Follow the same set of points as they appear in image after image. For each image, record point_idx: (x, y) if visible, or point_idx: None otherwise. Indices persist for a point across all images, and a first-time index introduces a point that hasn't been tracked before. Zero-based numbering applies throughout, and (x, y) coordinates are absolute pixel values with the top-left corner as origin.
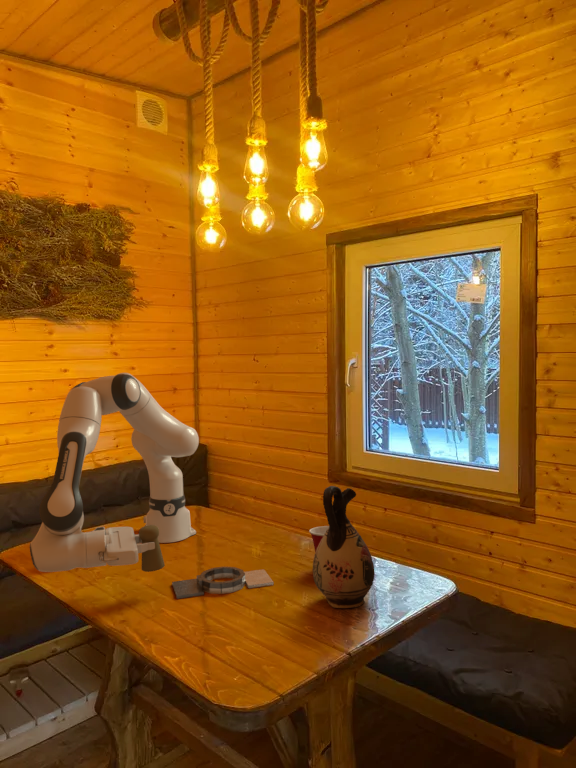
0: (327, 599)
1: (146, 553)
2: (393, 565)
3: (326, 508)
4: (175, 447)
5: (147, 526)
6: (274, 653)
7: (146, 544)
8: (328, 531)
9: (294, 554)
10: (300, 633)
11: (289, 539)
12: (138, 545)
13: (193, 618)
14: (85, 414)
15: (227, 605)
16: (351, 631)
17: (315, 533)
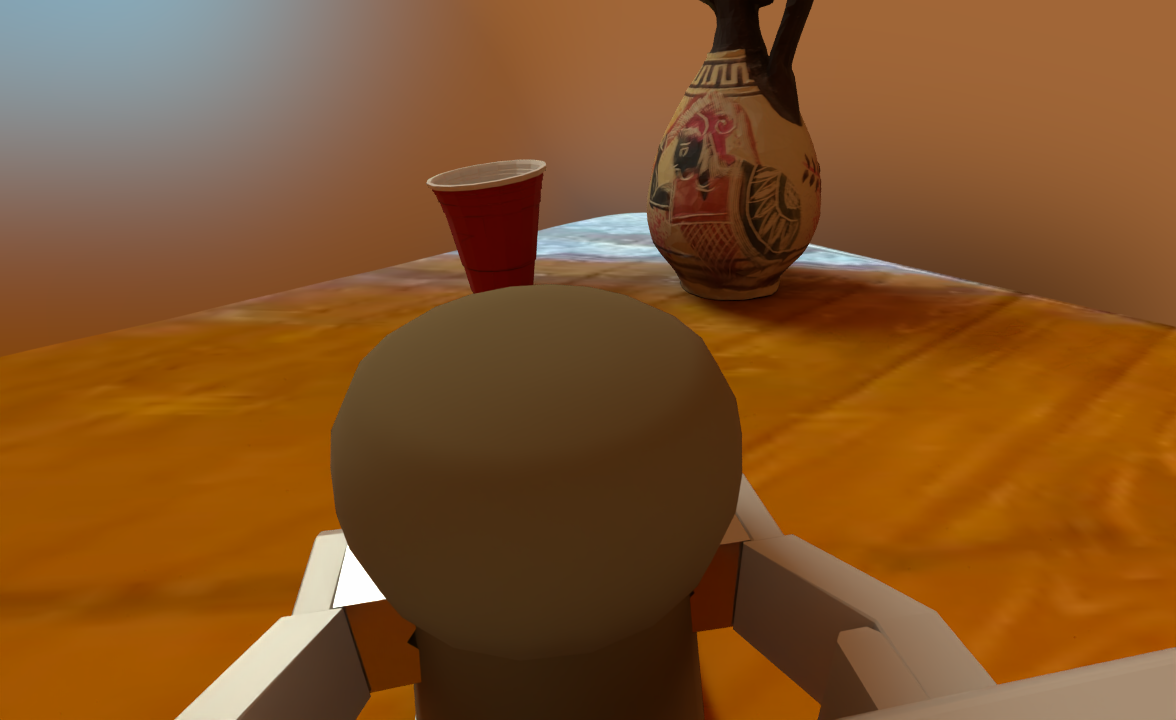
0: (745, 289)
1: (694, 707)
2: None
3: None
4: None
5: (516, 341)
6: (1127, 378)
7: (817, 557)
8: (753, 79)
9: (323, 333)
10: (954, 339)
11: (161, 337)
12: (973, 668)
13: (972, 598)
14: None
15: (777, 477)
16: (900, 285)
17: (515, 176)
